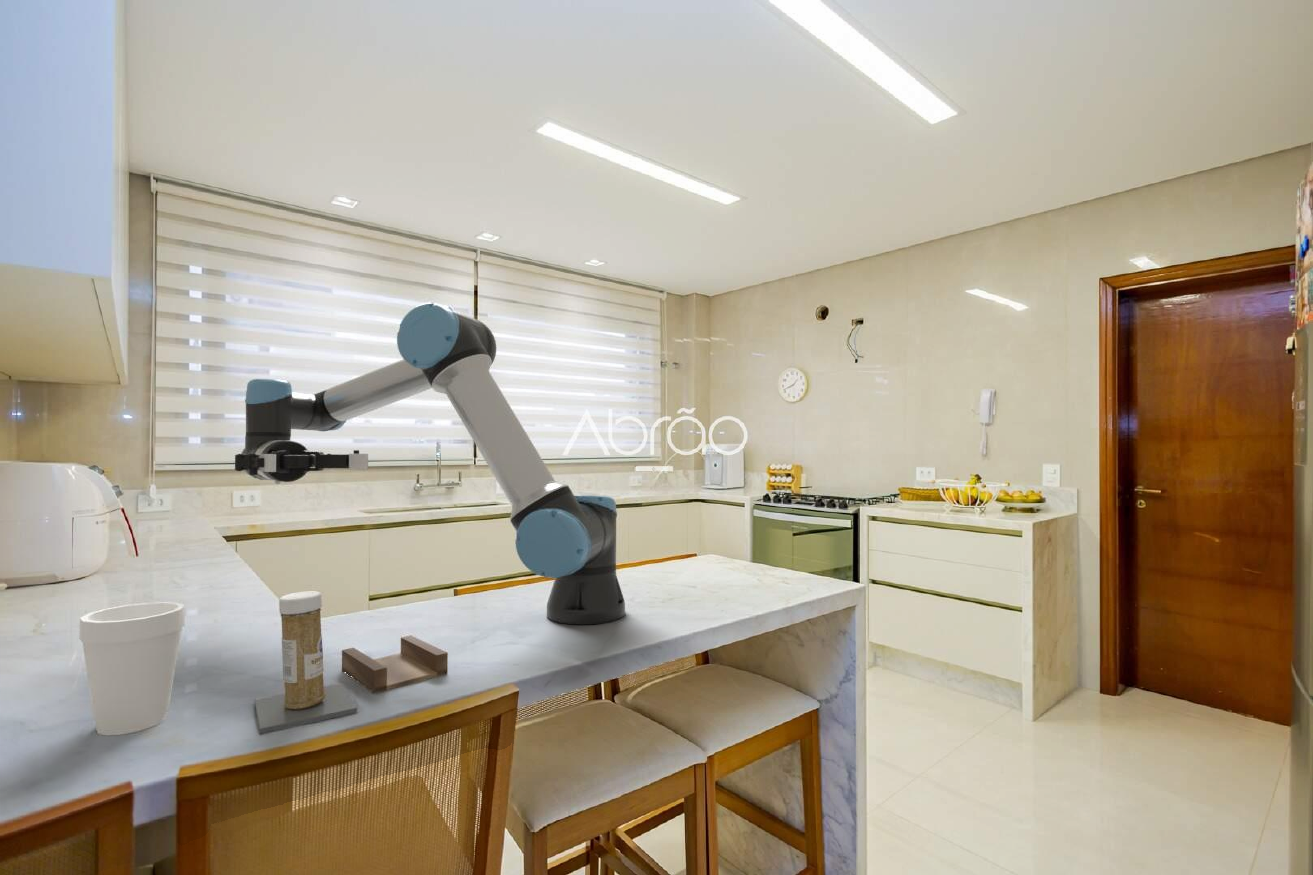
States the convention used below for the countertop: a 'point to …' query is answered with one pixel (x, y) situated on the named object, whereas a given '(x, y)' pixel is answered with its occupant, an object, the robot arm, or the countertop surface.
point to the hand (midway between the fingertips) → (321, 462)
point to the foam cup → (131, 663)
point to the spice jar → (302, 649)
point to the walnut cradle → (396, 665)
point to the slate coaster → (303, 710)
